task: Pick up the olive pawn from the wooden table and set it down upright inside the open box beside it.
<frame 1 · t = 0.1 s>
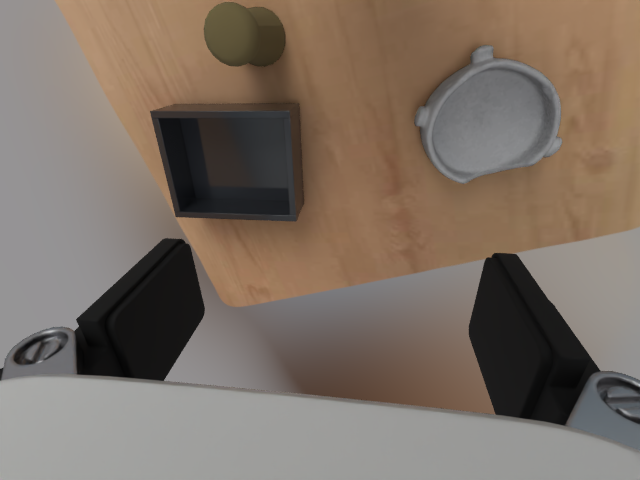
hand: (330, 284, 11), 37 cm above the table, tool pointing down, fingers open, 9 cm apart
olive pawn: (260, 37, 41), on the table
open box: (242, 156, 48), on the table
dish: (477, 117, 42), on the table
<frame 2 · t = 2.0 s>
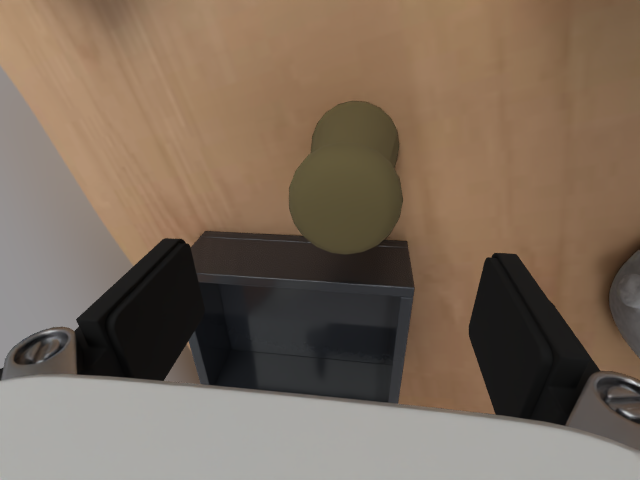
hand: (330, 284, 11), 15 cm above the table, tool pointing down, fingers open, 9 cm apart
olive pawn: (354, 146, 24), on the table
open box: (305, 301, 31), on the table
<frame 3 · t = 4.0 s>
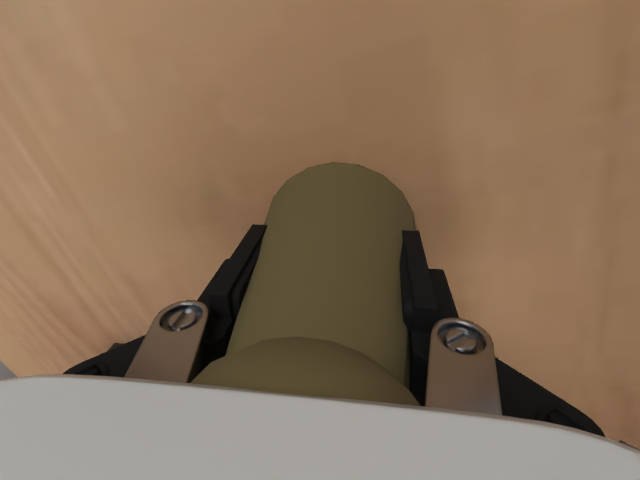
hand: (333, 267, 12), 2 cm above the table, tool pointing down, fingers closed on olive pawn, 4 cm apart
olive pawn: (339, 233, 14), on the table, touching gripper
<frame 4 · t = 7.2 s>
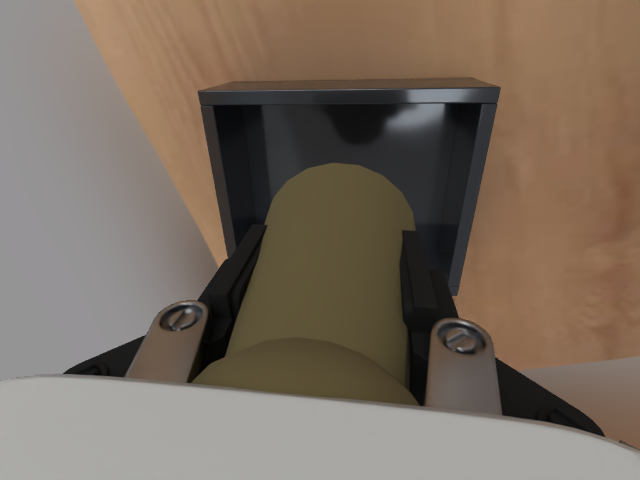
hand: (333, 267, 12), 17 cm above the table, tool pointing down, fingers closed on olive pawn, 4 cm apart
olive pawn: (339, 234, 14), point 14 cm above the table, touching gripper
open box: (346, 173, 27), on the table
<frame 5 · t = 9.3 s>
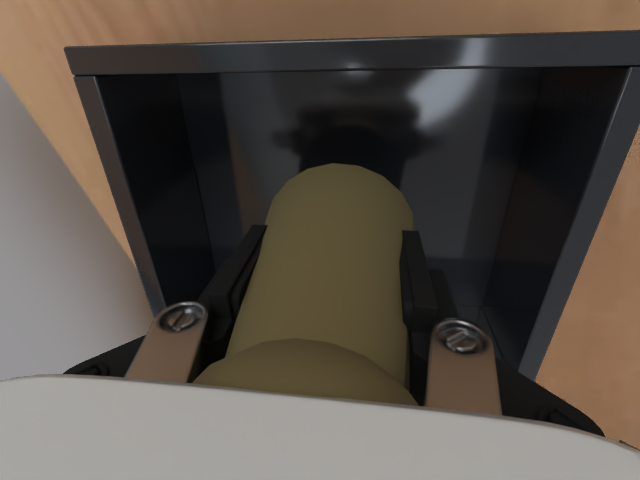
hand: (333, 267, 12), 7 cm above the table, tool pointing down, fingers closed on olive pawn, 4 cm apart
olive pawn: (339, 234, 14), point 4 cm above the table, touching gripper
open box: (347, 192, 18), on the table
when the fingers open (3 cm above the table, at t = 10.6 s): olive pawn stays where it is, resting on open box.
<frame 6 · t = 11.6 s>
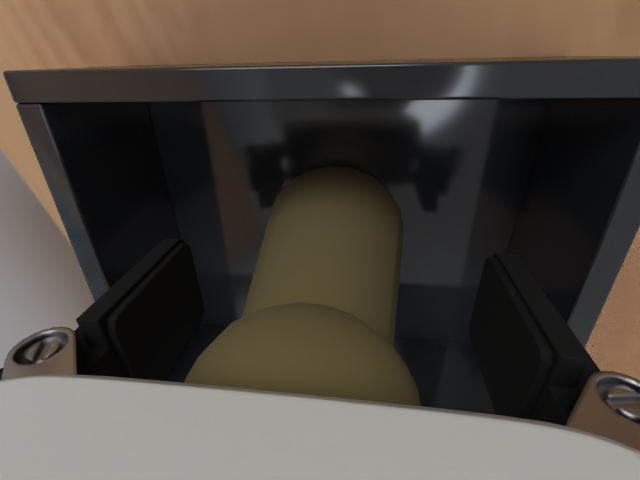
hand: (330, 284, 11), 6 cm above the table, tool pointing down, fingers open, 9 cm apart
olive pawn: (335, 229, 16), point 1 cm above the table, touching open box
open box: (336, 222, 17), on the table
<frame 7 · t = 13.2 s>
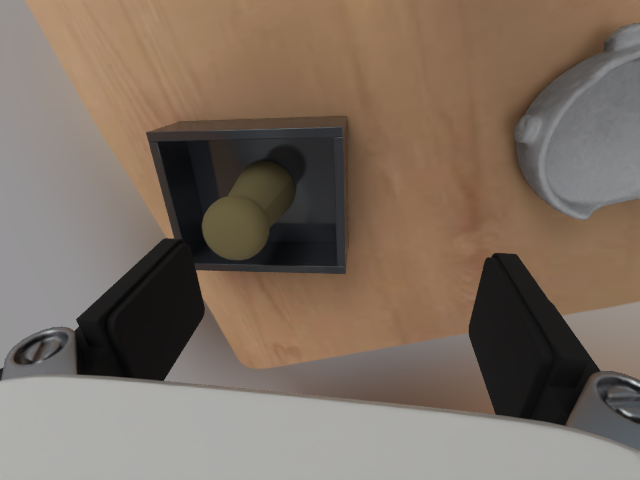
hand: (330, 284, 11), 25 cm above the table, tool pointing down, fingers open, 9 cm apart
olive pawn: (266, 189, 36), point 1 cm above the table, touching open box
open box: (268, 186, 37), on the table
dish: (595, 128, 30), on the table
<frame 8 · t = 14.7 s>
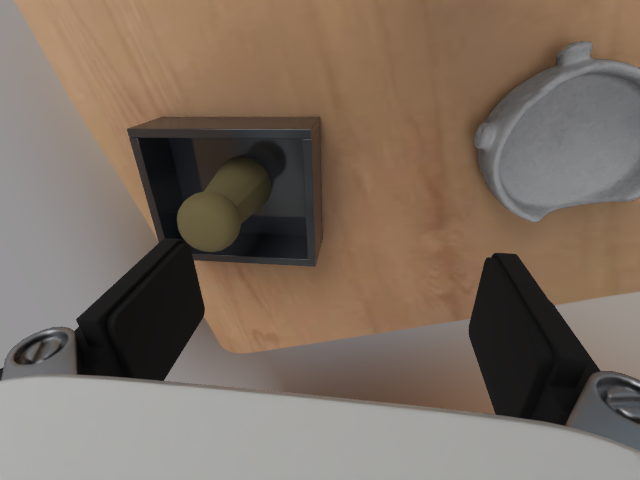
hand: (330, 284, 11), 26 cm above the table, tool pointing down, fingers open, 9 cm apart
olive pawn: (244, 183, 38), point 1 cm above the table, touching open box
open box: (247, 181, 38), on the table
dish: (551, 136, 32), on the table
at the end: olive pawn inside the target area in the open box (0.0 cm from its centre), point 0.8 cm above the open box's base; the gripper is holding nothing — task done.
